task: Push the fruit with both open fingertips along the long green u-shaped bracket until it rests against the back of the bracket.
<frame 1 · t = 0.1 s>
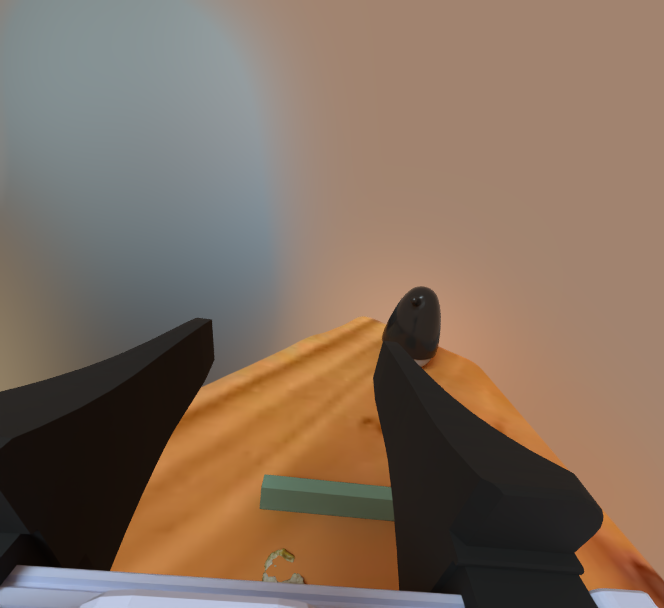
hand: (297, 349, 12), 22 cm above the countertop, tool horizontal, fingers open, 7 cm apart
pump dispenser: (403, 361, 53), on the countertop
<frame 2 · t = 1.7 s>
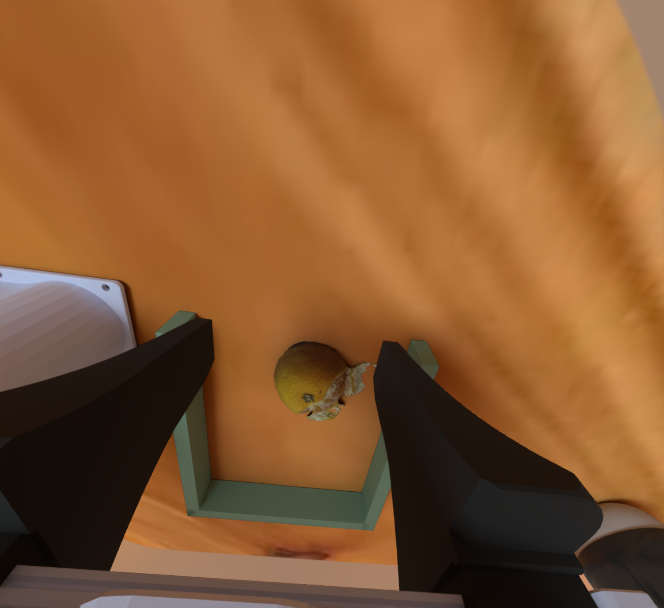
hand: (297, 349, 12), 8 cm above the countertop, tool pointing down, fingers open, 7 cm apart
green u-shaped bracket: (291, 452, 27), on the countertop
pump dispenser: (597, 512, 33), on the countertop
fruit: (325, 379, 24), on the countertop
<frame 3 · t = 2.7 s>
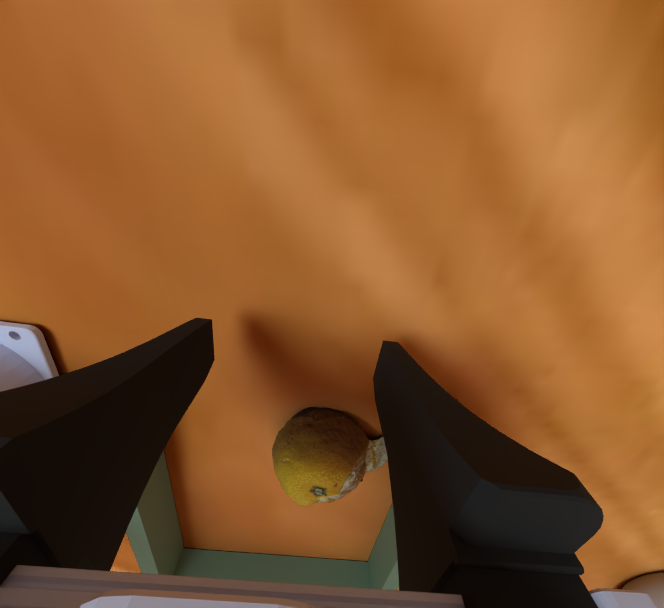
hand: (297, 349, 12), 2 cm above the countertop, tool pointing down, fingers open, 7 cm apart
green u-shaped bracket: (281, 521, 22), on the countertop
pump dispenser: (649, 580, 27), on the countertop
fruit: (338, 448, 19), on the countertop
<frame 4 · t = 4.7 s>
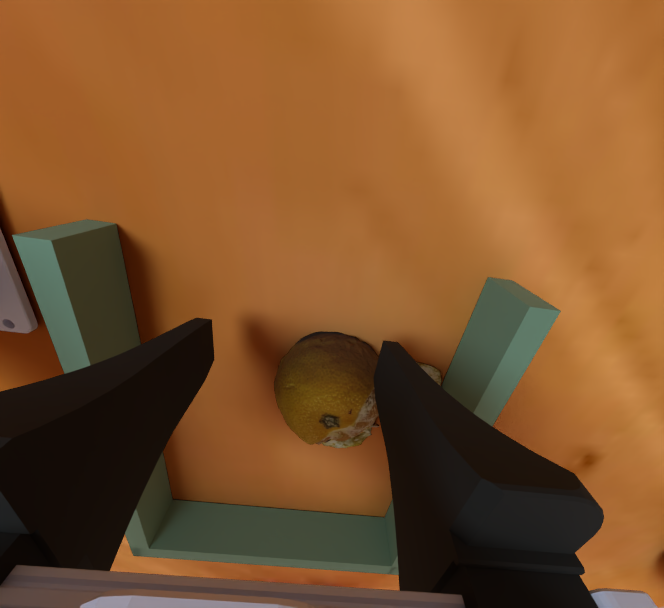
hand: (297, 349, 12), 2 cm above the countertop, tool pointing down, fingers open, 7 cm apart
green u-shaped bracket: (286, 462, 19), on the countertop
fruit: (350, 389, 16), on the countertop, touching gripper
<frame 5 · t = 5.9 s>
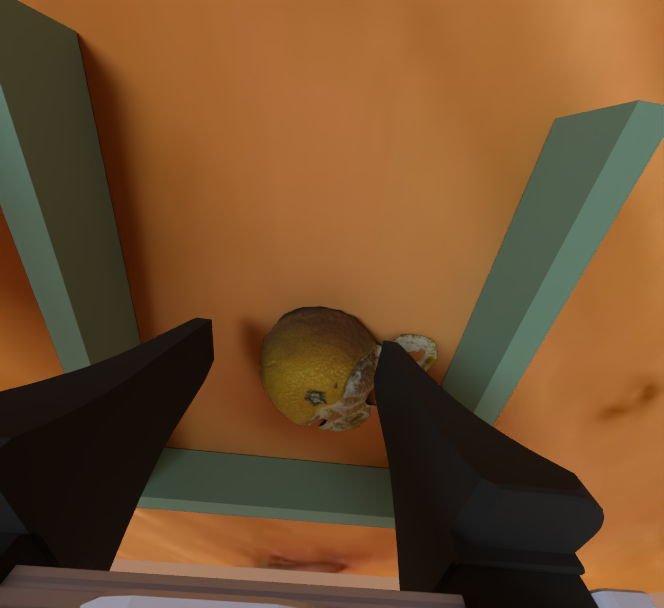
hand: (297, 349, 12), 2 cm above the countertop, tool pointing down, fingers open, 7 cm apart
green u-shaped bracket: (293, 396, 16), on the countertop
fruit: (343, 368, 16), on the countertop
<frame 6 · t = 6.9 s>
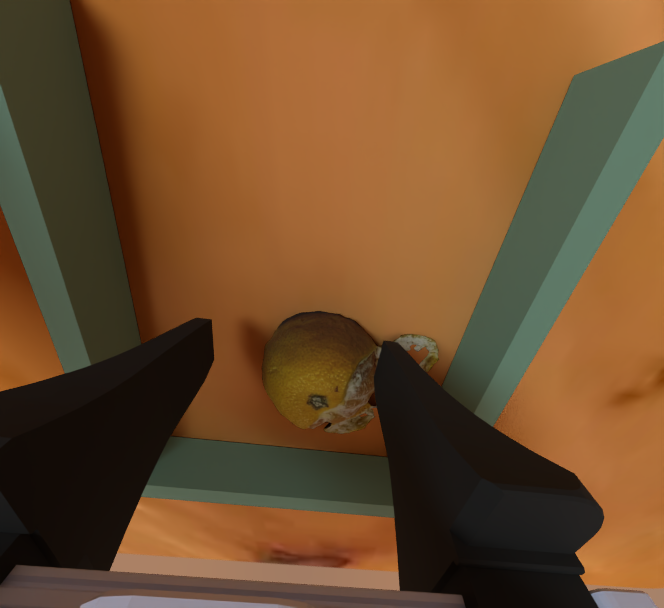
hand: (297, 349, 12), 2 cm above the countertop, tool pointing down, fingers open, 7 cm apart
green u-shaped bracket: (296, 381, 15), on the countertop
fruit: (345, 371, 16), on the countertop, touching gripper
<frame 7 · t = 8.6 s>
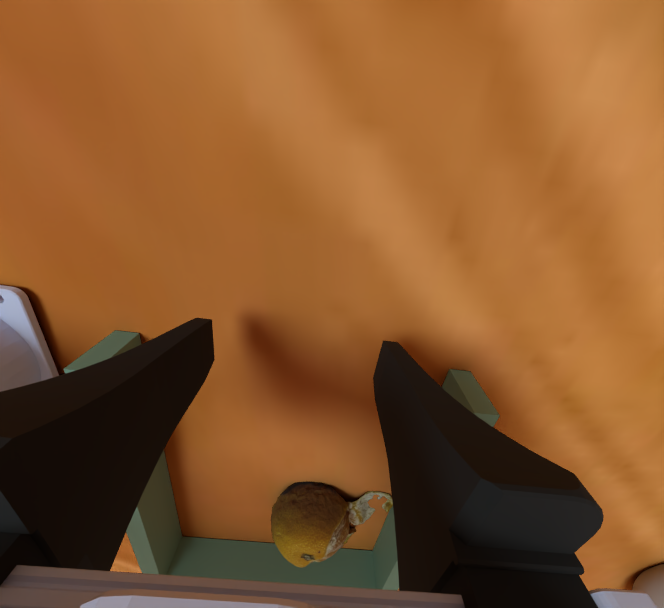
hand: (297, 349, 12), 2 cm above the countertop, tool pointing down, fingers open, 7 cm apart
green u-shaped bracket: (283, 507, 21), on the countertop
fruit: (330, 506, 22), on the countertop
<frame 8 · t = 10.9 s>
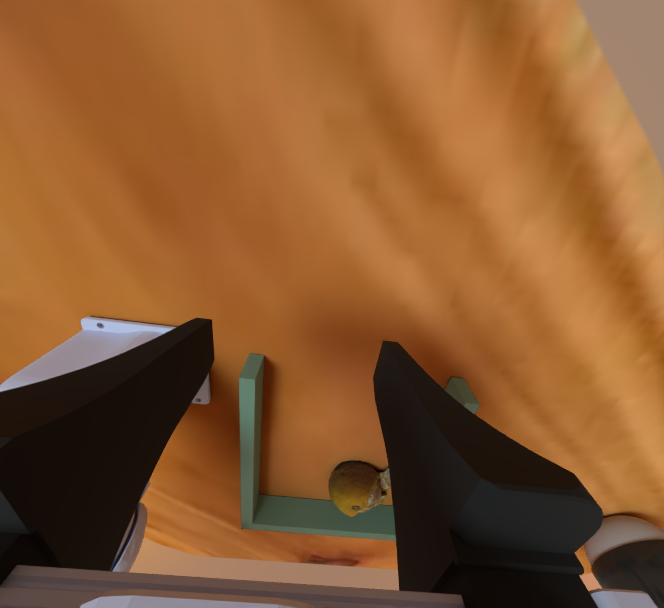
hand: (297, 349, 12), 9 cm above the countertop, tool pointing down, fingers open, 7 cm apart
green u-shaped bracket: (334, 471, 30), on the countertop
pump dispenser: (608, 523, 35), on the countertop
fruit: (367, 478, 32), on the countertop
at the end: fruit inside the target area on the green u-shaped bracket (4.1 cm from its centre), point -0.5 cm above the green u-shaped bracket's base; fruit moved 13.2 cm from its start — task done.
